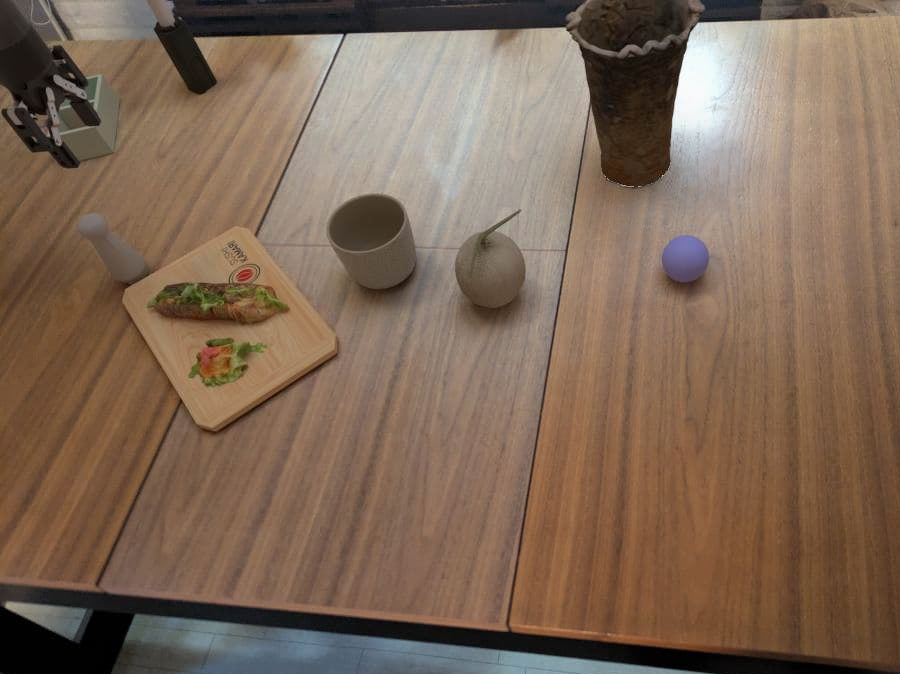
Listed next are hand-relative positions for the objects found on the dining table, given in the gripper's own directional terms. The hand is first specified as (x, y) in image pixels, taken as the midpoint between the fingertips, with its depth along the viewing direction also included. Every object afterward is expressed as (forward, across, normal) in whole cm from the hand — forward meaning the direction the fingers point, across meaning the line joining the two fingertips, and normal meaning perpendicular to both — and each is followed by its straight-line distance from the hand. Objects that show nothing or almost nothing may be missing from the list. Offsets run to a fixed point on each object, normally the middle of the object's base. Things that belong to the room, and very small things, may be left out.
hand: (84, 145), depth 97 cm
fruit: (+26, +8, +54) cm, 60 cm away
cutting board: (+26, +12, +11) cm, 31 cm away
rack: (+26, -40, -30) cm, 56 cm away
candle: (+26, -52, -11) cm, 59 cm away
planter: (+26, +2, +36) cm, 44 cm away
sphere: (+26, +6, +83) cm, 87 cm away
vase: (+26, -20, +76) cm, 83 cm away
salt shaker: (+26, 0, -8) cm, 28 cm away
